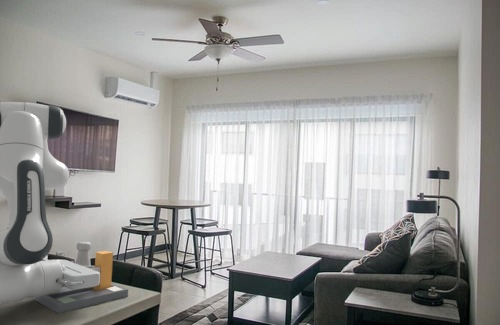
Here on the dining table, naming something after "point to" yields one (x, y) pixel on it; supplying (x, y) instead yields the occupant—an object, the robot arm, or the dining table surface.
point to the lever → (104, 269)
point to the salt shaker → (83, 254)
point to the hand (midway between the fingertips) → (97, 269)
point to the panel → (80, 297)
